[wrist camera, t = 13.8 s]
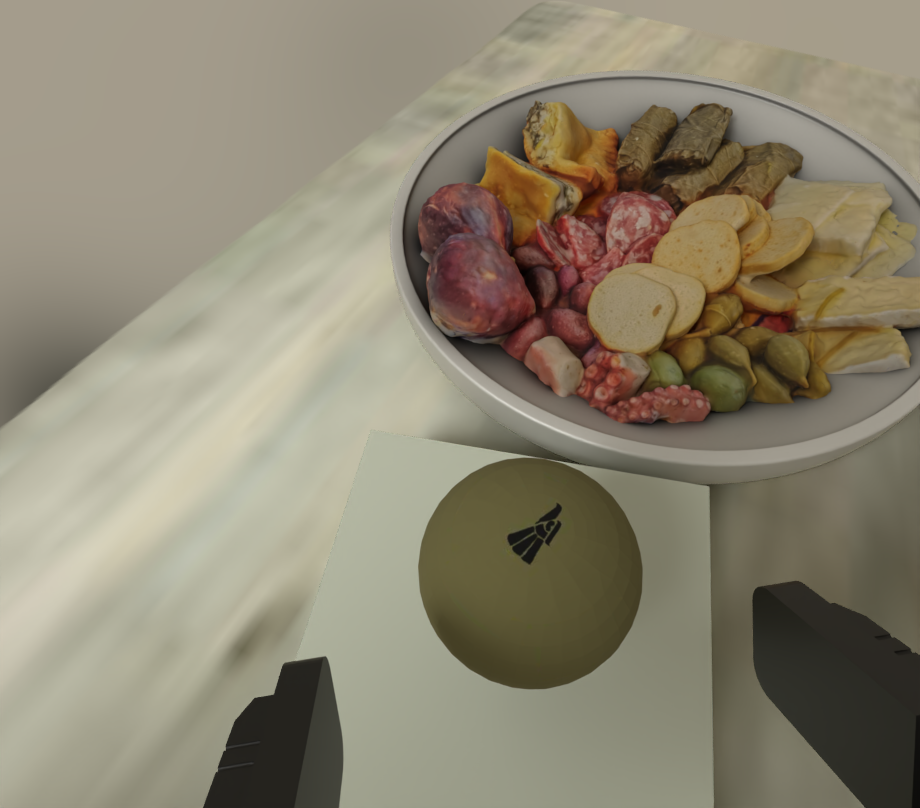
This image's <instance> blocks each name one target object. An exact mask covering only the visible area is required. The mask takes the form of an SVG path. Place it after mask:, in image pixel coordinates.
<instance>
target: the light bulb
mask: <svg viewBox="0 0 920 808" xmlns="http://www.w3.org/2000/svg"><path fill="white" fill-rule="evenodd" d="M418 573H419V587H420V594H421V598H422V602H423V606H424V608H425V611H426V613H427V616H428V618H429V621H430V623H431V625H432V627H433V629H434V631H435V632H436V634H437V636H438V637H439V639H440V640H441V641H442V642H443V644H444V645H445V646H446V648H447V649H448V650H449V651H450V653H451V654H452V655H453V656H454V657H455V658H457V659H458V660H459V661H460V662H461V663H463V664H464V665H465V666H466V667H467V668H468V669H470V670H471V671H473V672H475V673H477V674H479V675H480V676H482V677H484V678H486V679H488V680H489V681H492V682H496V683H499V684H502V685H505V686H508V687H512V688H520V689H529V690H530V689H549V688H553V687H557V686H561V685H566V684H569V683H571V682H574V681H576V680H578V679H580V678H582V677H584V676H586V675H588V674H590V673H591V672H593V671H594V670H595V669H596V668H598V667H599V666H600V665H601V664H603V663H604V662H605V661H606V660H608V659H609V658H610V657H611V656H612V655H613V654H614V653H615V652H616V651H617V650H618V648H619V646H620V645H621V643H622V642H623V640H624V639H625V637H626V635H627V634H628V632H629V631H630V629H631V627H632V625H633V622H634V619H635V617H636V614H637V611H638V608H639V603H640V599H641V594H642V577H643V567H642V560H641V553H640V549H639V546H638V542H637V539H636V535H635V533H634V531H633V529H632V527H631V525H630V523H629V521H628V519H627V517H626V514H625V512H624V511H623V510H622V508H621V507H620V506H619V504H618V503H617V502H616V500H615V499H614V498H613V496H612V495H611V494H610V493H609V492H608V491H607V490H605V489H604V488H603V487H602V486H601V485H600V484H599V483H598V482H597V481H595V480H594V479H592V478H591V477H589V476H588V475H586V474H584V473H583V472H581V471H579V470H577V469H575V468H572V467H570V466H568V465H566V464H563V463H559V462H555V461H551V460H547V459H541V458H526V457H524V458H515V459H506V460H502V461H499V462H495V463H492V464H488V465H486V466H484V467H482V468H480V469H478V470H476V471H474V472H472V473H471V474H469V475H468V476H467V477H465V478H464V479H463V480H461V481H460V482H459V483H458V484H456V485H455V486H454V487H453V488H452V489H451V490H450V491H449V492H448V493H447V495H446V496H445V497H444V498H443V499H442V500H441V501H440V503H439V504H438V506H437V508H436V509H435V511H434V513H433V515H432V516H431V518H430V520H429V522H428V524H427V527H426V530H425V533H424V536H423V539H422V542H421V547H420V555H419V563H418Z"/></svg>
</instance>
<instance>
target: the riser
mask: <svg viewBox="0 0 920 808" xmlns="http://www.w3.org/2000/svg"><path fill="white" fill-rule="evenodd" d="M524 457H526V458H537V457H531V456H525V455H519V454H513V453H507V452H501V451H495V450H489V449H483V448H478V447H472V446H466V445H460V444H454V443H448V442H442V441H436V440H430V439H424V438H418V437H412V436H406V435H400V434H394V433H388V432H382V431H376V430H371V431H370V434H369V437H368V440H367V443H366V446H365V449H364V452H363V455H362V458H361V461H360V464H359V467H358V470H357V473H356V477H355V480H354V483H353V486H352V489H351V492H350V495H349V498H348V501H347V504H346V507H345V510H344V513H343V516H342V519H341V522H340V525H339V528H338V531H337V534H336V538H335V541H334V544H333V547H332V550H331V553H330V556H329V559H328V562H327V565H326V568H325V571H324V574H323V577H322V580H321V583H320V586H319V589H318V592H317V596H316V599H315V602H314V605H313V608H312V611H311V614H310V617H309V620H308V623H307V626H306V629H305V632H304V635H303V638H302V641H301V644H300V647H299V650H298V653H297V657H296V660H295V661H298V660H305V659H311V658H317V657H323V656H326V657H327V659H328V661H329V665H330V670H331V675H332V681H333V686H334V692H335V697H336V702H337V708H338V713H339V719H340V724H341V730H342V738H343V756H344V761H343V776H342V785H341V794H340V803H339V808H714V773H713V703H712V633H711V562H710V492H709V486H703V485H697V484H692V483H686V482H680V481H674V480H668V479H662V478H656V477H650V476H644V475H638V474H632V473H626V472H620V471H614V470H608V469H602V468H596V467H590V466H585V465H579V464H573V463H567V462H561V461H555V460H551V461H555V462H559V463H563V464H566V465H568V466H570V467H572V468H575V469H577V470H579V471H581V472H583V473H584V474H586V475H588V476H589V477H591V478H592V479H594V480H595V481H597V482H598V483H599V484H600V485H601V486H602V487H603V488H604V489H605V490H607V491H608V492H609V493H610V494H611V495H612V496H613V498H614V499H615V500H616V502H617V503H618V504H619V506H620V507H621V508H622V510H623V511H624V512H625V514H626V517H627V519H628V521H629V523H630V525H631V527H632V529H633V531H634V533H635V535H636V539H637V542H638V546H639V549H640V553H641V560H642V567H643V577H642V594H641V599H640V603H639V608H638V611H637V614H636V617H635V619H634V622H633V625H632V627H631V629H630V631H629V632H628V634H627V635H626V637H625V639H624V640H623V642H622V643H621V645H620V646H619V648H618V650H617V651H616V652H615V653H614V654H613V655H612V656H611V657H610V658H609V659H608V660H606V661H605V662H604V663H603V664H601V665H600V666H599V667H598V668H596V669H595V670H594V671H593V672H591V673H590V674H588V675H586V676H584V677H582V678H580V679H578V680H576V681H574V682H571V683H569V684H566V685H561V686H557V687H553V688H549V689H530V690H529V689H520V688H512V687H508V686H505V685H502V684H499V683H496V682H492V681H489V680H488V679H486V678H484V677H482V676H480V675H479V674H477V673H475V672H473V671H471V670H470V669H468V668H467V667H466V666H465V665H464V664H463V663H461V662H460V661H459V660H458V659H457V658H455V657H454V656H453V655H452V654H451V653H450V651H449V650H448V649H447V648H446V646H445V645H444V644H443V642H442V641H441V640H440V639H439V637H438V636H437V634H436V632H435V631H434V629H433V627H432V625H431V623H430V621H429V618H428V616H427V613H426V611H425V608H424V606H423V602H422V598H421V594H420V587H419V573H418V563H419V555H420V547H421V542H422V539H423V536H424V533H425V530H426V527H427V524H428V522H429V520H430V518H431V516H432V515H433V513H434V511H435V509H436V508H437V506H438V504H439V503H440V501H441V500H442V499H443V498H444V497H445V496H446V495H447V493H448V492H449V491H450V490H451V489H452V488H453V487H454V486H455V485H456V484H458V483H459V482H460V481H461V480H463V479H464V478H465V477H467V476H468V475H469V474H471V473H472V472H474V471H476V470H478V469H480V468H482V467H484V466H486V465H488V464H492V463H495V462H499V461H502V460H506V459H515V458H524ZM541 459H543V458H541ZM547 460H549V459H547Z"/></svg>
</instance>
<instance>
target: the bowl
mask: <svg viewBox="0 0 920 808" xmlns="http://www.w3.org/2000/svg"><path fill="white" fill-rule="evenodd" d="M390 250H391V259H392V265H393V271H394V276H395V281H396V286H397V289H398V293H399V296H400V300H401V302H402V305H403V307H404V310H405V313H406V315H407V318H408V320H409V322H410V324H411V326H412V328H413V330H414V332H415V334H416V335H417V337H418V339H419V340H420V342H421V344H422V346H423V347H424V349H425V350H426V352H427V353H428V355H429V356H430V357H431V359H432V360H433V362H434V363H435V364H436V365H437V366H438V368H439V369H440V370H441V371H442V373H443V374H444V375H445V376H446V377H447V378H448V379H449V381H450V382H451V383H452V384H453V385H454V386H455V387H456V388H457V389H458V390H459V391H460V392H461V393H462V394H463V395H464V396H466V397H467V398H468V399H469V400H470V401H471V402H472V403H474V404H475V405H476V406H477V407H478V408H480V409H481V410H482V411H483V412H485V413H486V414H487V415H489V416H490V417H491V418H493V419H494V420H496V421H497V422H498V423H500V424H501V425H503V426H504V427H506V428H508V429H509V430H511V431H512V432H514V433H515V434H517V435H519V436H521V437H523V438H524V439H526V440H528V441H530V442H532V443H533V444H535V445H538V446H540V447H542V448H544V449H546V450H548V451H550V452H552V453H555V454H557V455H560V456H562V457H564V458H567V459H569V460H572V461H575V462H578V463H581V464H584V465H586V466H590V467H596V468H602V469H608V470H614V471H620V472H626V473H632V474H638V475H644V476H650V477H656V478H662V479H668V480H674V481H680V482H686V483H692V484H729V483H743V482H750V481H758V480H764V479H770V478H775V477H780V476H785V475H789V474H792V473H796V472H800V471H804V470H807V469H810V468H813V467H816V466H819V465H822V464H825V463H827V462H830V461H832V460H835V459H837V458H839V457H842V456H844V455H846V454H849V453H851V452H852V451H854V450H856V449H858V448H860V447H862V446H864V445H866V444H867V443H869V442H871V441H872V440H874V439H876V438H877V437H879V436H880V435H882V434H883V433H885V432H887V431H888V430H889V429H891V428H892V427H893V426H894V425H896V424H897V423H898V422H900V421H901V420H902V419H903V418H905V417H906V416H907V415H908V414H909V413H910V412H911V411H913V410H914V409H915V408H916V407H917V406H918V405H919V404H920V184H919V183H918V182H917V181H916V180H915V179H914V178H913V177H912V176H911V175H910V174H909V173H908V172H907V171H906V170H905V169H904V168H903V167H902V166H901V165H900V164H898V163H897V162H896V161H895V160H894V159H893V158H891V157H890V156H889V155H888V154H887V153H885V152H884V151H883V150H881V149H880V148H879V147H877V146H876V145H875V144H873V143H872V142H870V141H869V140H867V139H866V138H865V137H863V136H861V135H860V134H858V133H857V132H855V131H853V130H852V129H850V128H848V127H847V126H845V125H843V124H841V123H840V122H838V121H836V120H834V119H832V118H830V117H828V116H826V115H824V114H822V113H820V112H818V111H816V110H814V109H812V108H810V107H807V106H805V105H802V104H800V103H798V102H795V101H793V100H790V99H787V98H785V97H782V96H779V95H776V94H773V93H770V92H767V91H764V90H761V89H758V88H754V87H751V86H747V85H743V84H739V83H735V82H731V81H726V80H722V79H716V78H711V77H705V76H699V75H692V74H684V73H675V72H663V71H607V72H595V73H586V74H578V75H572V76H566V77H561V78H556V79H551V80H547V81H543V82H539V83H535V84H532V85H529V86H525V87H522V88H519V89H517V90H514V91H511V92H508V93H506V94H503V95H501V96H499V97H496V98H494V99H492V100H490V101H488V102H486V103H484V104H482V105H480V106H478V107H476V108H474V109H473V110H471V111H470V112H468V113H466V114H465V115H463V116H462V117H460V118H459V119H457V120H456V121H454V122H453V123H452V124H450V125H449V126H448V127H447V128H445V129H444V130H443V131H442V132H441V133H440V134H438V135H437V136H436V137H435V138H434V139H433V140H432V141H431V142H430V143H429V144H428V145H427V146H426V148H425V149H424V150H423V151H422V152H421V153H420V155H419V156H418V157H417V159H416V160H415V162H414V163H413V164H412V166H411V168H410V169H409V171H408V173H407V174H406V176H405V178H404V180H403V182H402V184H401V186H400V189H399V192H398V194H397V197H396V200H395V204H394V207H393V212H392V218H391V227H390Z"/></svg>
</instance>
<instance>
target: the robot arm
mask: <svg viewBox="0 0 920 808" xmlns="http://www.w3.org/2000/svg"><path fill="white" fill-rule="evenodd" d="M753 659H754V667H755V671H756V674H757V677H758V680H759V682H760V685H761V687H762V689H763V690H764V692H765V693H766V695H767V696H768V697H769V699H770V700H771V701H772V702H773V703H774V704H775V706H776V707H777V708H778V709H779V710H780V711H781V712H782V713H783V715H784V716H785V717H786V718H787V719H788V720H789V721H790V723H791V724H792V725H793V726H794V727H795V728H796V729H797V730H798V732H799V733H800V734H801V735H802V736H803V737H804V738H805V740H806V741H807V742H808V743H809V744H810V745H811V746H812V748H813V749H814V750H815V751H816V752H817V753H818V754H819V755H820V757H821V758H822V759H823V760H824V761H825V762H826V763H827V765H828V766H829V767H830V768H831V769H832V770H833V771H834V773H835V774H836V775H837V776H838V777H839V778H840V779H841V780H842V782H843V783H844V784H845V785H846V786H847V787H848V788H849V790H850V791H851V792H852V793H853V794H854V795H855V796H856V798H857V799H858V800H859V801H860V802H861V803H862V804H863V805H864V807H865V808H920V655H918V654H917V653H912V652H911V649H910V648H909V647H907V646H906V645H905V644H903V643H902V642H901V641H899V640H898V639H896V638H892V637H891V636H890V633H888V632H887V631H885V630H884V629H883V628H881V627H880V626H879V625H877V624H876V623H874V622H873V621H872V620H870V619H869V618H868V617H866V616H864V615H862V614H859V613H857V612H855V611H852V610H850V609H847V608H845V607H843V606H840V605H838V604H836V603H832V604H830V603H829V602H827V601H826V600H825V599H823V598H822V597H821V596H819V595H818V594H817V593H815V592H814V591H813V590H811V589H810V588H809V587H807V586H806V585H805V584H803V583H802V582H799V581H792V582H786V583H780V584H773V585H767V586H761V587H757V588H756V589H755V591H754V593H753ZM343 761H344V756H343V738H342V730H341V724H340V719H339V713H338V708H337V702H336V697H335V692H334V686H333V681H332V675H331V670H330V665H329V661H328V659H327V657H326V656H323V657H317V658H311V659H305V660H298V661H292V662H286V663H284V664H283V666H282V669H281V672H280V676H279V679H278V683H277V686H276V689H275V693H274V695H270V696H264V697H258V698H254V699H253V700H252V702H251V703H250V704H249V705H248V706H247V707H246V709H245V710H244V711H243V712H242V713H241V714H240V716H239V717H238V718H237V719H236V720H235V722H234V725H233V727H232V730H231V733H230V735H229V738H228V741H227V744H226V751H224V752H223V755H222V757H221V760H220V763H219V766H218V772H216V774H215V777H214V779H213V782H212V785H211V787H210V790H209V793H208V796H207V798H206V801H205V804H204V807H203V808H339V803H340V794H341V785H342V776H343Z"/></svg>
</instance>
